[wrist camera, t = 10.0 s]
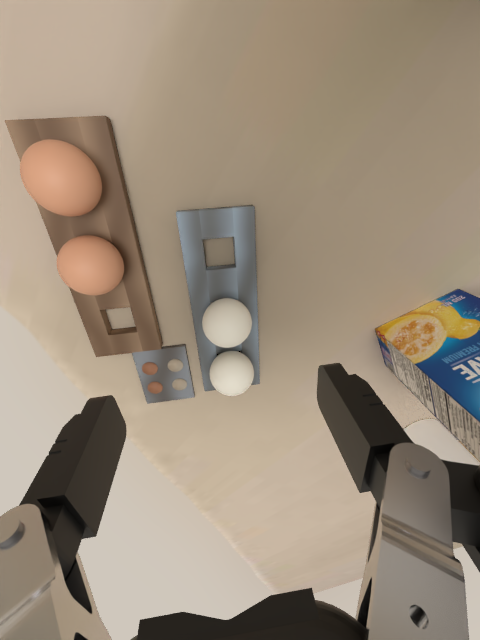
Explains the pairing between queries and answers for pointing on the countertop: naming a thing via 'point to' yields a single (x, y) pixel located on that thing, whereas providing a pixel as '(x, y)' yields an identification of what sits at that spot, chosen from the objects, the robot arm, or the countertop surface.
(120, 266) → the terracotta ball
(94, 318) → the racks
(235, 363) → the cream ball
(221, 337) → the cream ball
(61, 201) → the terracotta ball
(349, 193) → the countertop surface
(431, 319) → the beverage box
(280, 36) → the countertop surface
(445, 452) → the cup
